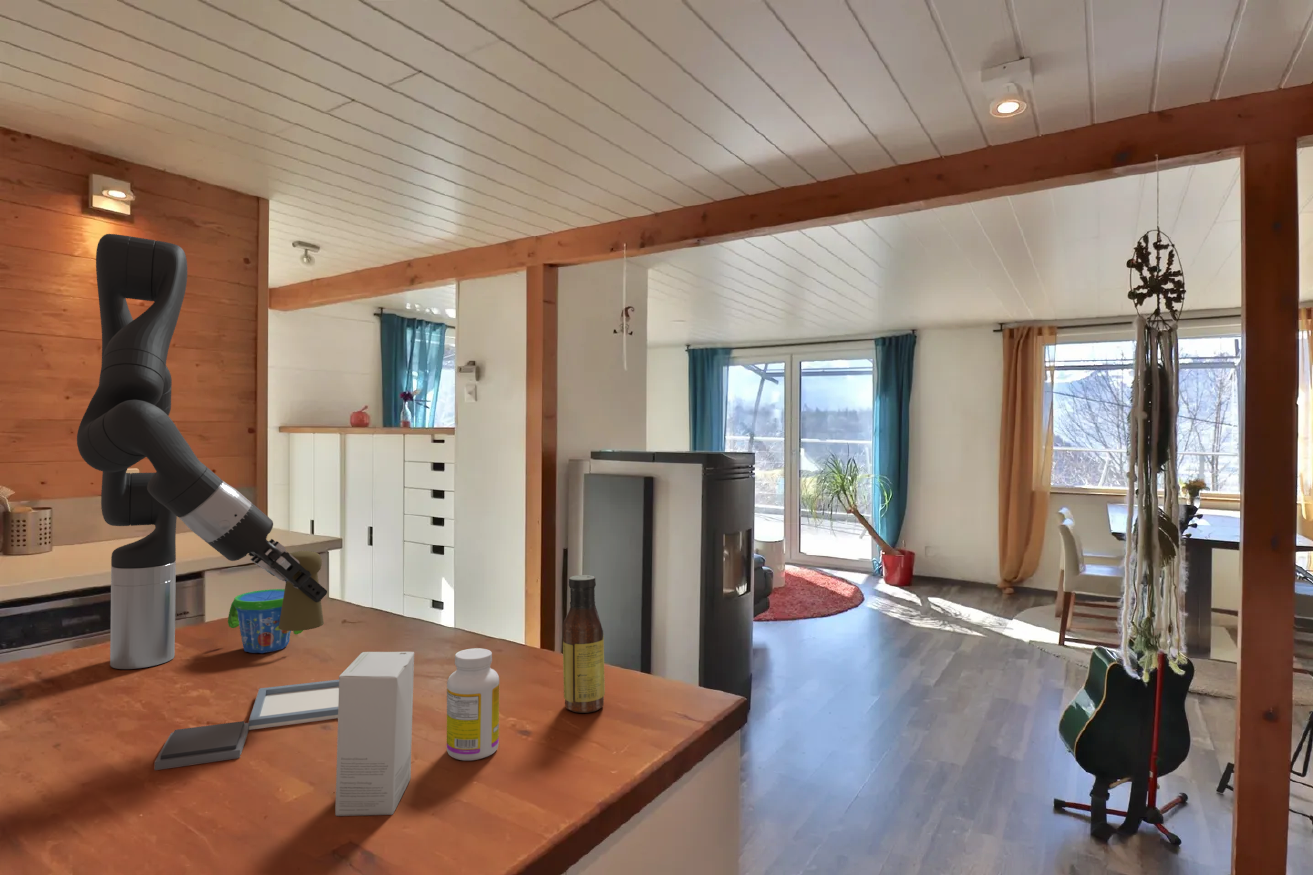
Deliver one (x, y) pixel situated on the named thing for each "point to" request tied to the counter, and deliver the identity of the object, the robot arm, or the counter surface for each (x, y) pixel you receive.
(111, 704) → the counter surface
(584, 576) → the sauce bottle
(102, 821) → the counter surface
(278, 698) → the blank framed board
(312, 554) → the olive tapered round piece
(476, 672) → the supplement bottle
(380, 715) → the skincare box
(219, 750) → the ink pad
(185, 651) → the counter surface
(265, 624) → the snack cup
